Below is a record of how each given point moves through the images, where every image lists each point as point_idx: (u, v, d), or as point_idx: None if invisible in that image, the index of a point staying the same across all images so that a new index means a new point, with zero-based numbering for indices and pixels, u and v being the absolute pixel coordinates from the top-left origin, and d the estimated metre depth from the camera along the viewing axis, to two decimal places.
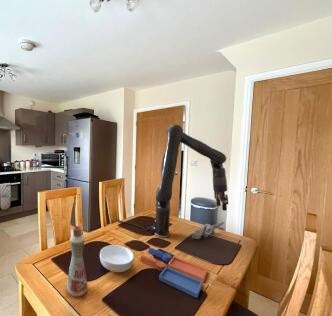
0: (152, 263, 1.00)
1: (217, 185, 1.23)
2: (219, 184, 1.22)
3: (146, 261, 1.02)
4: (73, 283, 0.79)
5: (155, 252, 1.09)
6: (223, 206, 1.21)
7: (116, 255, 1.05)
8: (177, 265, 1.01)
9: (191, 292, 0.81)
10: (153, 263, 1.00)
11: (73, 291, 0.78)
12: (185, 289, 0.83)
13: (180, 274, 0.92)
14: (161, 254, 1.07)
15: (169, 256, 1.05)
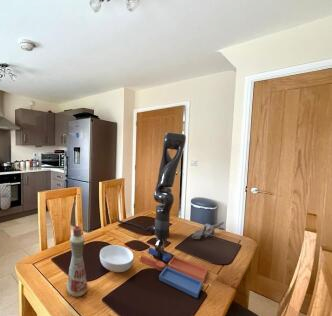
0: (152, 263, 1.00)
1: (155, 228, 1.07)
2: (156, 227, 1.05)
3: (146, 261, 1.02)
4: (73, 283, 0.79)
5: (155, 252, 1.09)
6: (157, 253, 1.07)
7: (116, 255, 1.05)
8: (177, 265, 1.01)
9: (191, 292, 0.81)
10: (153, 263, 1.00)
11: (73, 291, 0.78)
12: (185, 289, 0.83)
13: (180, 274, 0.92)
14: None
15: (169, 256, 1.05)
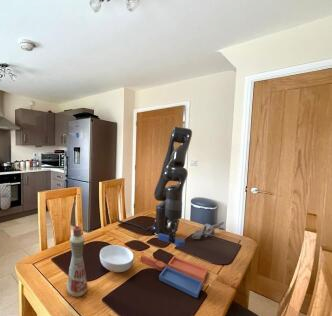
0: (152, 263, 1.00)
1: (166, 208, 0.95)
2: (168, 208, 0.94)
3: (146, 261, 1.02)
4: (73, 283, 0.79)
5: (166, 238, 0.98)
6: (169, 237, 0.96)
7: (116, 255, 1.05)
8: (177, 265, 1.01)
9: (191, 292, 0.81)
10: (153, 263, 1.00)
11: (73, 291, 0.78)
12: (185, 289, 0.83)
13: (180, 274, 0.92)
14: None
15: (182, 241, 0.93)
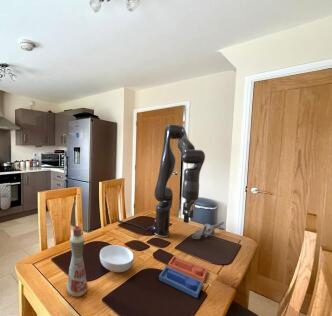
0: (189, 268, 0.96)
1: (183, 190, 0.98)
2: (185, 189, 0.97)
3: (181, 265, 0.99)
4: (73, 283, 0.79)
5: (175, 277, 0.89)
6: (184, 217, 0.97)
7: (116, 255, 1.05)
8: None
9: (191, 292, 0.81)
10: (189, 267, 0.96)
11: (73, 291, 0.78)
12: (185, 289, 0.83)
13: (180, 274, 0.92)
14: (183, 280, 0.87)
15: (194, 283, 0.85)
